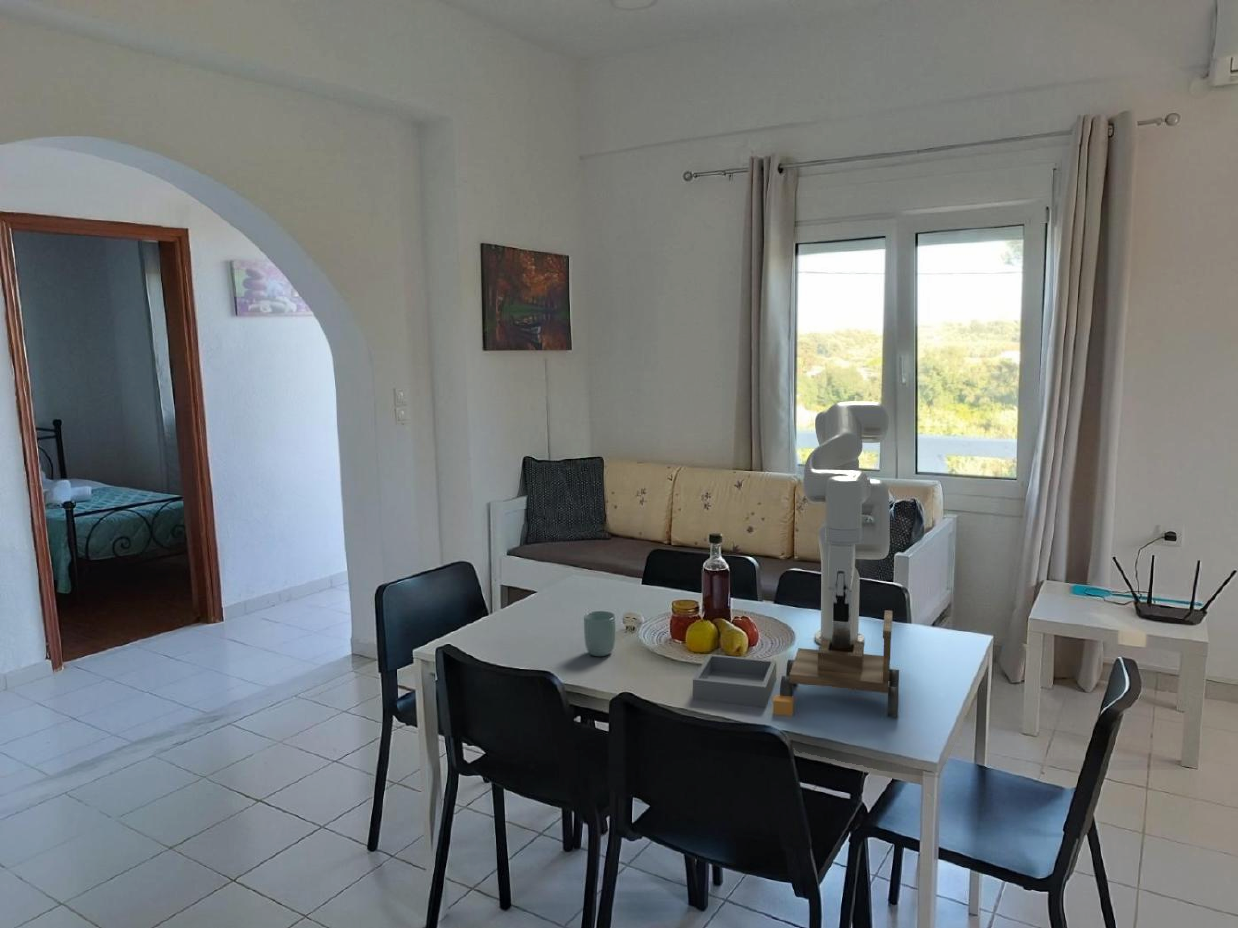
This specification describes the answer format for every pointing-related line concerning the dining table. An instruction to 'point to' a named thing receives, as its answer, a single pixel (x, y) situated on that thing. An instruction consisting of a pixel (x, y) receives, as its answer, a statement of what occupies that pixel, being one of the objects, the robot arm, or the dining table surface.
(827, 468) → the robot arm
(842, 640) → the pin
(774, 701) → the orange block
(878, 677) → the trolley
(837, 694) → the dining table surface
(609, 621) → the cup
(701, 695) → the tray
